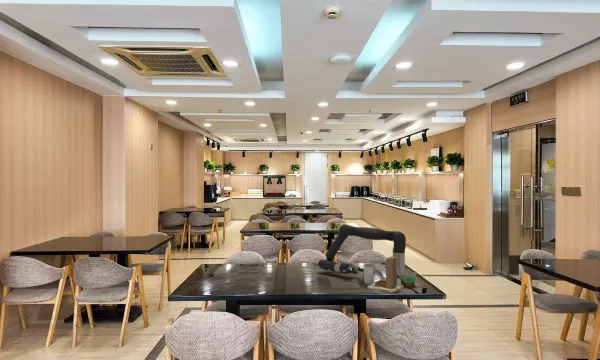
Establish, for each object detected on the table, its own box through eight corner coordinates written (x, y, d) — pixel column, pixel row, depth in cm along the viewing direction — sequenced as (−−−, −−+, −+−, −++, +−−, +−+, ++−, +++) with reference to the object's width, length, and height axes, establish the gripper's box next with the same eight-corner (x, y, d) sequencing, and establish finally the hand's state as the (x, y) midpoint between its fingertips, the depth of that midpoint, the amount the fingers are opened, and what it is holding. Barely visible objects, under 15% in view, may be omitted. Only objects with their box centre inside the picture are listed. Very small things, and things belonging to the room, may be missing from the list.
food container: (403, 288, 255) (403, 273, 255) (399, 286, 261) (399, 271, 261) (419, 287, 258) (420, 273, 258) (415, 285, 264) (415, 271, 264)
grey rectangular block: (367, 281, 272) (367, 263, 272) (373, 282, 269) (373, 264, 269) (364, 282, 269) (364, 264, 269) (369, 284, 266) (370, 265, 266)
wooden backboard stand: (380, 282, 270) (380, 253, 270) (404, 287, 258) (404, 256, 258) (367, 287, 256) (367, 256, 256) (391, 293, 244) (391, 260, 244)
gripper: (336, 264, 279) (354, 267, 269) (347, 261, 290) (365, 264, 279) (336, 274, 279) (354, 278, 269) (347, 271, 290) (365, 274, 279)
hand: (360, 271), depth 274 cm, fingers open, 8 cm apart
